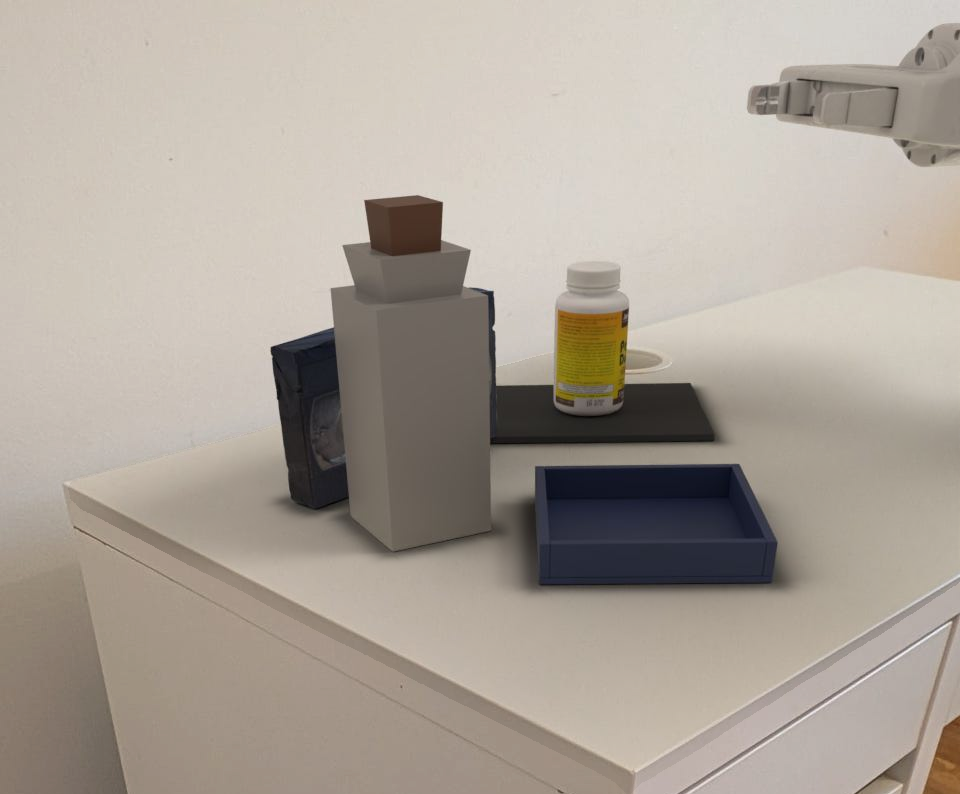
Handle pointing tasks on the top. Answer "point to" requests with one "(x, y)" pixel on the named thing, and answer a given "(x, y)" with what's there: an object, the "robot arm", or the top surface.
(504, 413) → the mat
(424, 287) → the perfume bottle
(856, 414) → the top surface
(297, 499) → the vhs cassette tape
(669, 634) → the top surface
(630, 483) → the box
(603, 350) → the supplement bottle
